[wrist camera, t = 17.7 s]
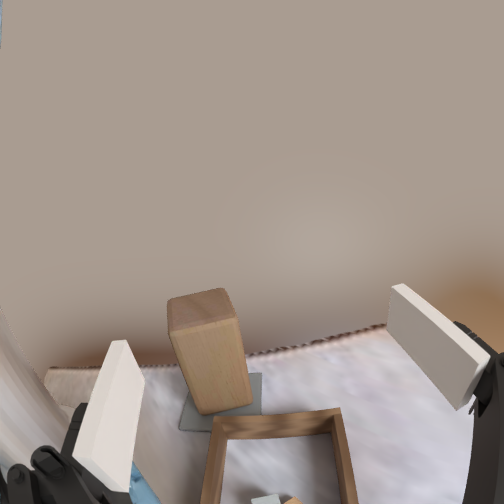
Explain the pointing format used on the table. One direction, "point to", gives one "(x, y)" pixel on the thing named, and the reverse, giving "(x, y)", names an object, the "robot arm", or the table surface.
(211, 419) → the mat
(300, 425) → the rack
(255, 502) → the offcut slab upper
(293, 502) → the offcut slab lower
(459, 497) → the table surface
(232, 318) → the wooden block
